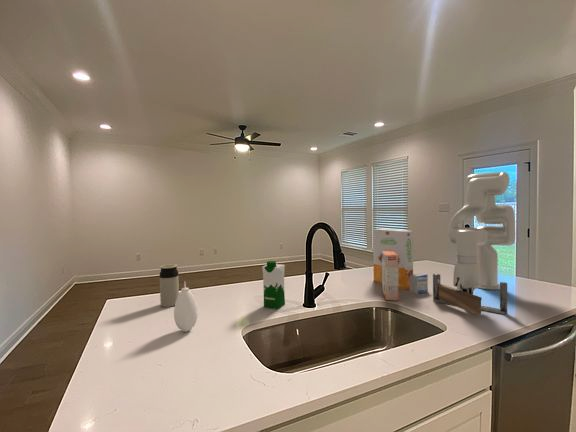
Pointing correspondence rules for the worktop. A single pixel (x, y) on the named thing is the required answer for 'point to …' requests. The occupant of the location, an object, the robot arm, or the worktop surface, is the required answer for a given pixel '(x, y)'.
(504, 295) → the gate frame
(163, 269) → the travel mug
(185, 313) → the white air blower bulb
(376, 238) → the cereal box
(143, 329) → the worktop surface
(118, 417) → the worktop surface
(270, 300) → the milk carton
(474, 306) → the gate
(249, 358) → the worktop surface
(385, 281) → the cracker box
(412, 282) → the medicine box
